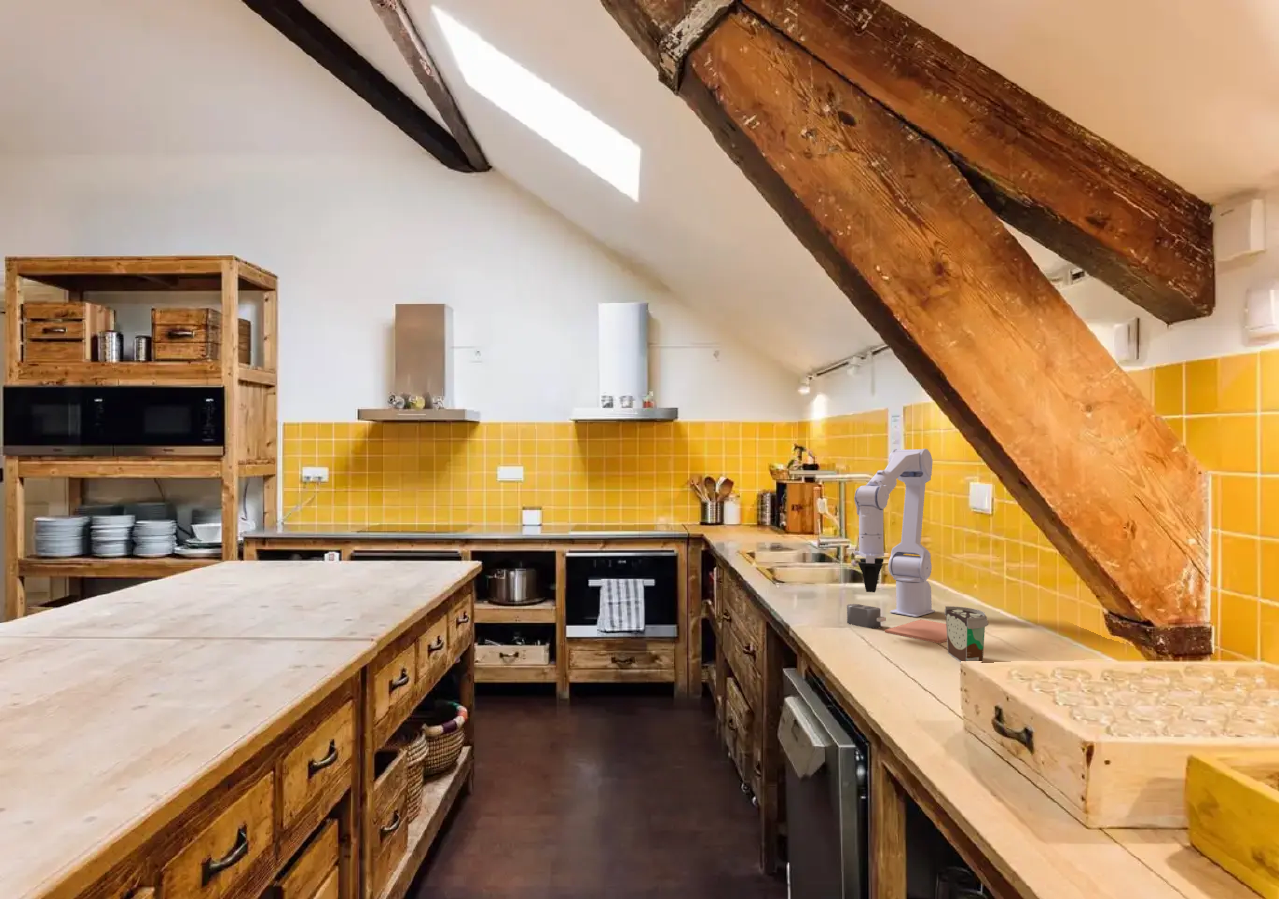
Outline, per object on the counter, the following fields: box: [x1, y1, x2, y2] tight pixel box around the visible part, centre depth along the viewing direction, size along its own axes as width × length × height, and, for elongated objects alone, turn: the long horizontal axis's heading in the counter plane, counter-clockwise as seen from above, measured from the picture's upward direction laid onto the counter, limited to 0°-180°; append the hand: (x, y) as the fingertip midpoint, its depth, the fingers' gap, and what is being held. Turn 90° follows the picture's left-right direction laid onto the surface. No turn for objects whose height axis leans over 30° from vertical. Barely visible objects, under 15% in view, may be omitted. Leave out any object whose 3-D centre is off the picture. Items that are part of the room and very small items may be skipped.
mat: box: [884, 619, 947, 644], centre depth 178 cm, size 16×14×1 cm
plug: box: [846, 603, 887, 630], centre depth 186 cm, size 4×10×4 cm, turn 39°
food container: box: [944, 605, 989, 663], centre depth 155 cm, size 12×6×10 cm, turn 179°
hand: (871, 589), depth 182 cm, fingers open, 7 cm apart
